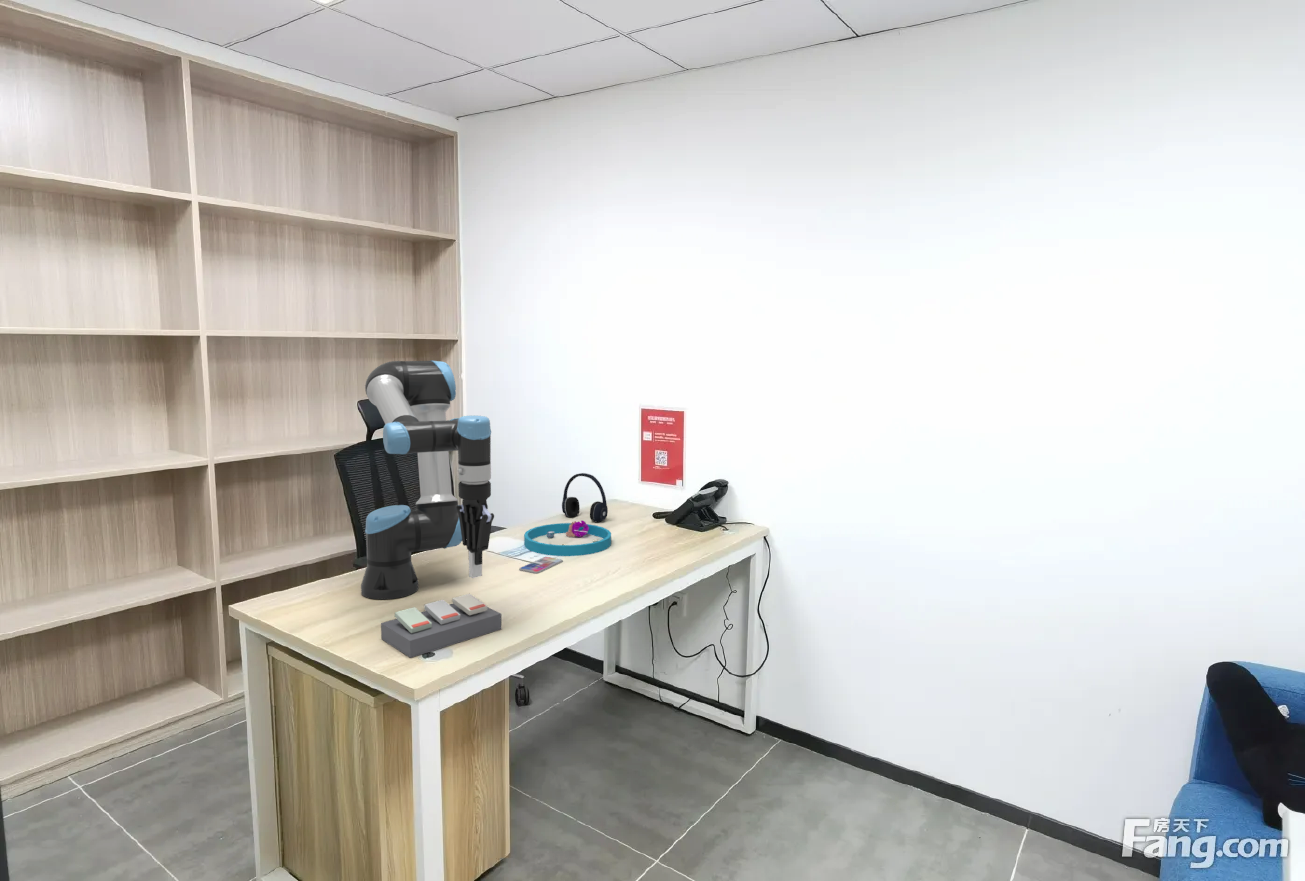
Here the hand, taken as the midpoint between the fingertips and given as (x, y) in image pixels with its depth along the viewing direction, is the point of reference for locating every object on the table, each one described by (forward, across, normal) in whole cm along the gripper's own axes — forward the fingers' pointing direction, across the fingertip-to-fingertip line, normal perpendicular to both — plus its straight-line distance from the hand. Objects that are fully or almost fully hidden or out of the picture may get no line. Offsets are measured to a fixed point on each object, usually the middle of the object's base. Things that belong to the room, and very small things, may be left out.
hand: (475, 576), depth 179 cm
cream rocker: (+8, -3, 0) cm, 8 cm away
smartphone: (+15, -30, +42) cm, 54 cm away
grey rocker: (+8, -3, -8) cm, 11 cm away
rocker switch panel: (+13, -5, -8) cm, 16 cm away
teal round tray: (+15, -44, +64) cm, 79 cm away
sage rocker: (+8, -3, -15) cm, 17 cm away
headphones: (+15, -66, +91) cm, 113 cm away
